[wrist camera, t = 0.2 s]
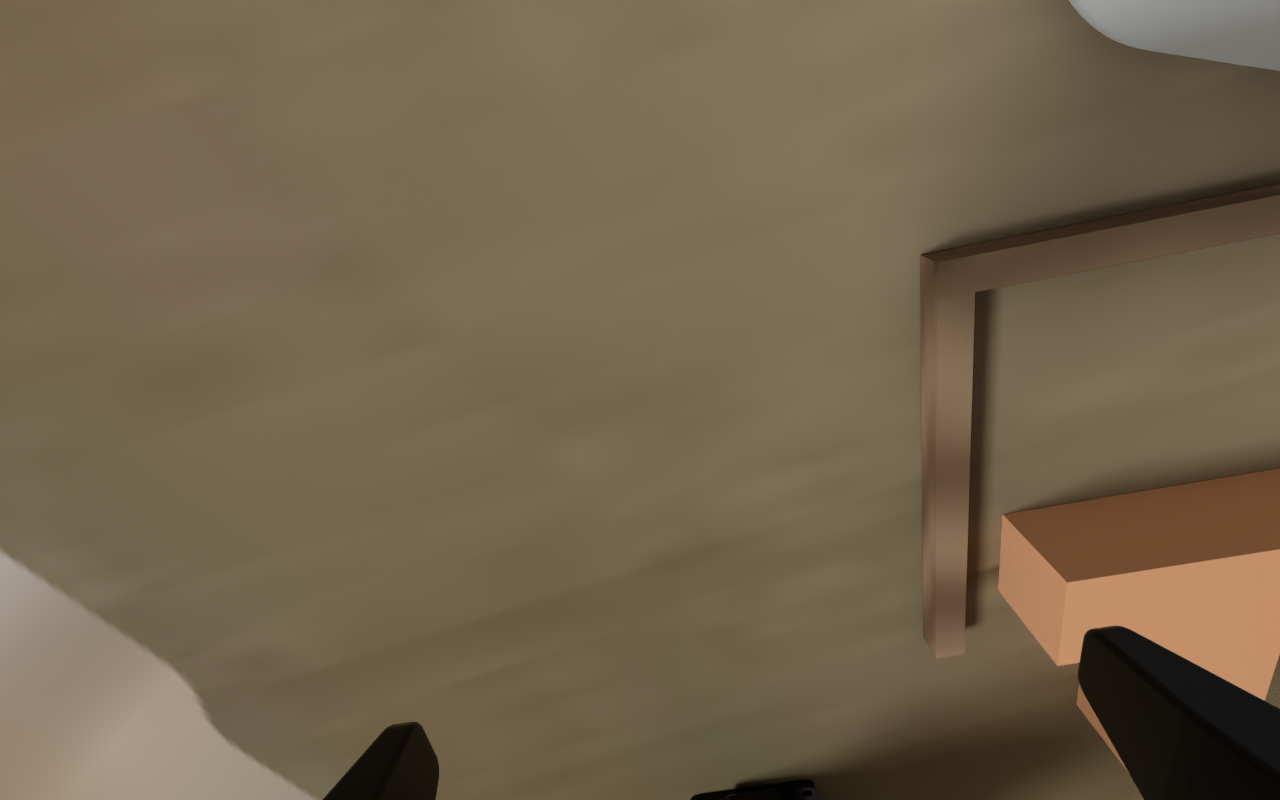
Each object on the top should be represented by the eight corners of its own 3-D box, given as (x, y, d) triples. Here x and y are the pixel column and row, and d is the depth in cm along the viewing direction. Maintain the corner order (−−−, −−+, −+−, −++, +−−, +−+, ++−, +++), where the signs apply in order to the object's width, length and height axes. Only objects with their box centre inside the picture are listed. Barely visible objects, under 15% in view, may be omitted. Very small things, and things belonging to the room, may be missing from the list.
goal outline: (1363, 569, 26) (1396, 588, 25) (923, 636, 27) (935, 658, 26) (1527, 134, 19) (1583, 135, 18) (920, 255, 20) (936, 262, 19)
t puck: (1252, 679, 28) (1343, 760, 25) (990, 716, 29) (1041, 800, 26) (1319, 461, 23) (1445, 523, 20) (1002, 514, 24) (1067, 582, 21)
